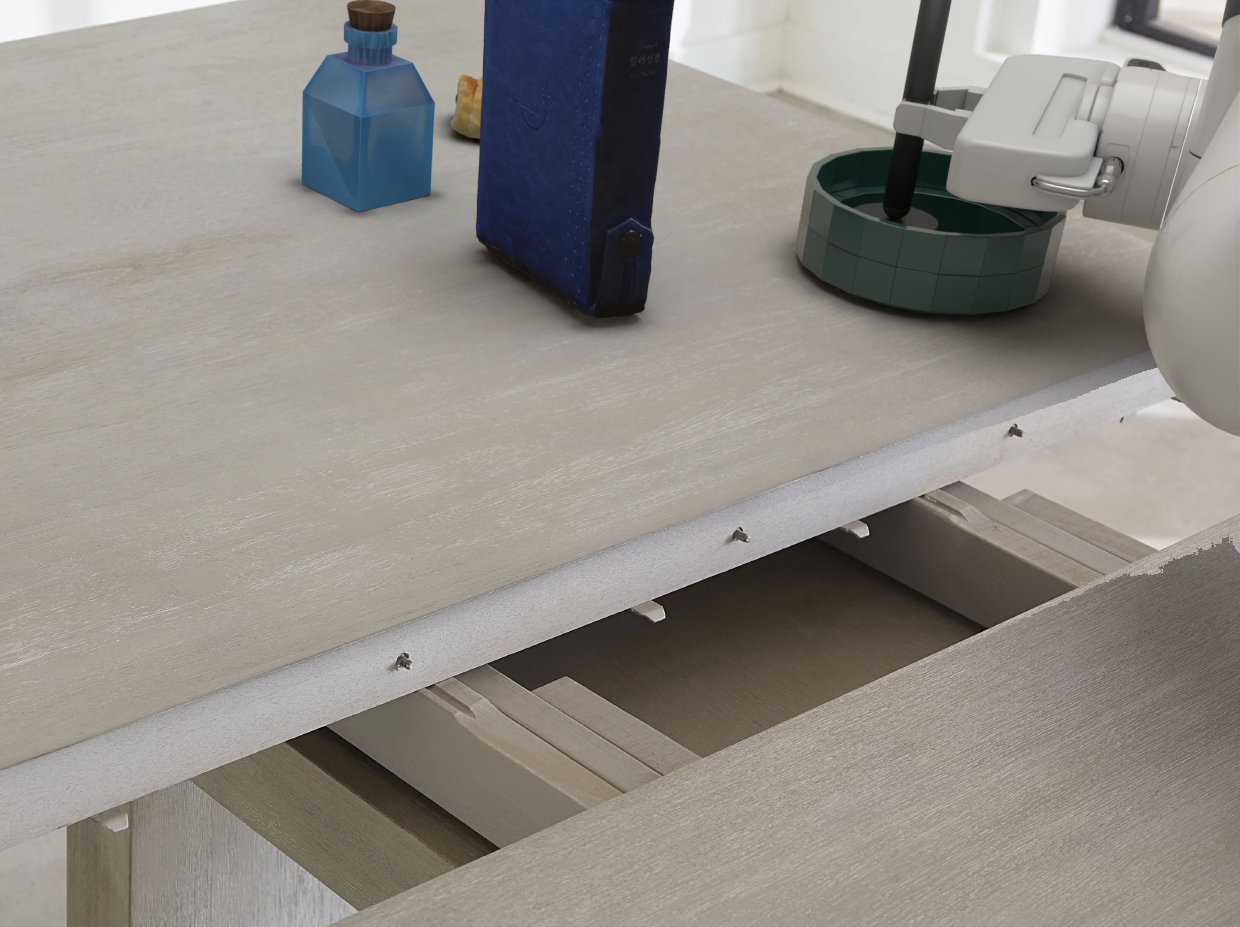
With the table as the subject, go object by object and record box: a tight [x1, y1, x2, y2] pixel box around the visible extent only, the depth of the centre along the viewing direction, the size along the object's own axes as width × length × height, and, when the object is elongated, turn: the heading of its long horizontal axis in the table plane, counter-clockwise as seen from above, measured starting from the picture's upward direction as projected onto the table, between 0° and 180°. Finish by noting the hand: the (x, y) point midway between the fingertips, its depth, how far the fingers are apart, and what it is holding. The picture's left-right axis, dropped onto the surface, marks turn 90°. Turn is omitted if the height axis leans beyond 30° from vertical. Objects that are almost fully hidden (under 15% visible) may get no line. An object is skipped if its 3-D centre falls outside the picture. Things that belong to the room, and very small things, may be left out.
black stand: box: [854, 0, 953, 231], centre depth 117 cm, size 6×6×17 cm
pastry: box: [450, 74, 483, 140], centre depth 139 cm, size 9×7×4 cm
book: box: [475, 0, 676, 319], centre depth 111 cm, size 14×5×20 cm, turn 32°
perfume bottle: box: [301, 0, 436, 213], centre depth 125 cm, size 6×6×12 cm
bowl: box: [795, 146, 1068, 316], centre depth 121 cm, size 16×16×6 cm
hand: (901, 106), depth 117 cm, fingers closed on black stand
